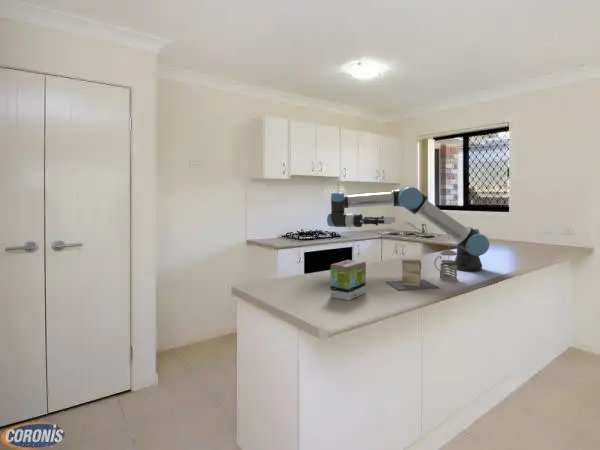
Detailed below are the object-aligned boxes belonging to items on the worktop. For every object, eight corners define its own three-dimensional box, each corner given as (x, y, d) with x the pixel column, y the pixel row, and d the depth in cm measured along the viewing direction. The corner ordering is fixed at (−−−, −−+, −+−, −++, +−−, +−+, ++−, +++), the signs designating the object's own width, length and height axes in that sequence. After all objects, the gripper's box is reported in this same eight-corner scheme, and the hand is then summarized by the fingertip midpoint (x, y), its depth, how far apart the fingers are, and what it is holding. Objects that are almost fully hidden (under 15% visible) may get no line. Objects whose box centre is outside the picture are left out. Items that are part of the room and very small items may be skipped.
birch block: (403, 282, 180) (403, 258, 179) (421, 283, 176) (421, 259, 175) (402, 284, 175) (402, 260, 174) (420, 286, 172) (420, 261, 171)
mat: (424, 280, 185) (424, 279, 185) (439, 288, 169) (439, 287, 169) (386, 282, 182) (386, 281, 182) (398, 290, 167) (398, 289, 167)
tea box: (350, 301, 152) (349, 266, 151) (329, 297, 158) (329, 264, 157) (366, 293, 164) (366, 260, 163) (347, 290, 170) (346, 258, 169)
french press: (461, 282, 178) (461, 232, 176) (436, 282, 180) (436, 232, 178) (456, 278, 187) (457, 230, 185) (433, 277, 190) (433, 230, 188)
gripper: (360, 225, 214) (396, 225, 206) (348, 229, 192) (389, 229, 183) (360, 212, 214) (396, 212, 205) (348, 215, 191) (388, 215, 182)
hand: (393, 220), depth 194 cm, fingers open, 13 cm apart
